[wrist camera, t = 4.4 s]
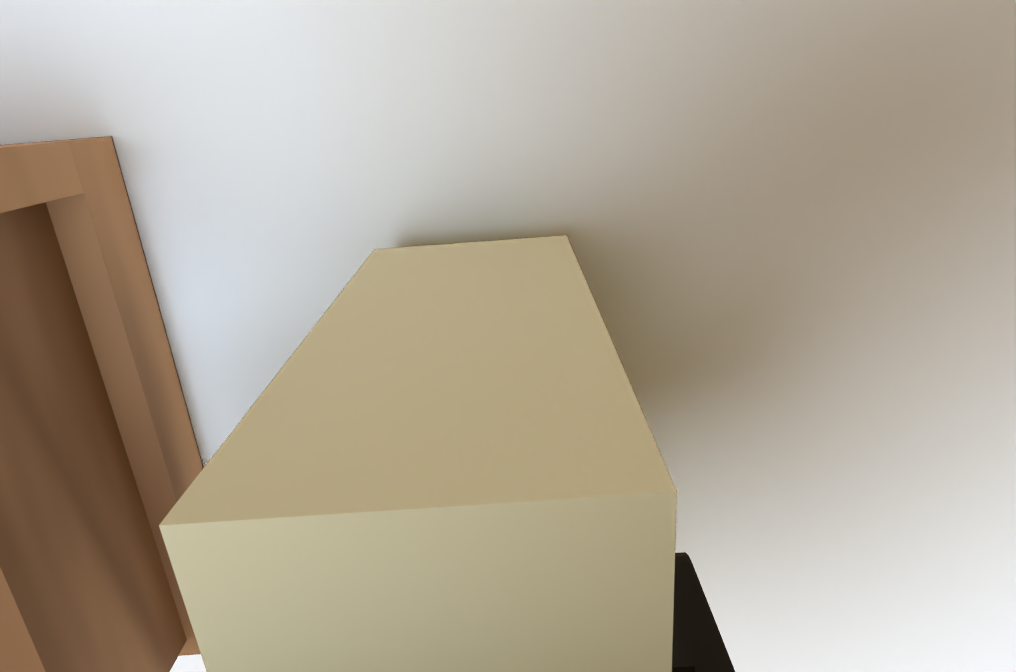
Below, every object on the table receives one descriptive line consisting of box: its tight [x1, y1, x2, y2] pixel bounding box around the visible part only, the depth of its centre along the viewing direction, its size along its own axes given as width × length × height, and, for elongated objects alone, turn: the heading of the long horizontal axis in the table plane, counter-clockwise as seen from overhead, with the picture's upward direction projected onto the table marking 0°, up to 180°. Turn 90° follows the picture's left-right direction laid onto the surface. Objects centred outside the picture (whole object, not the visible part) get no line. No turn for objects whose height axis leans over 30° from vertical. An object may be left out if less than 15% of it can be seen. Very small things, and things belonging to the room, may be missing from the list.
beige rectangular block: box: [159, 235, 677, 672], centre depth 11 cm, size 4×10×9 cm, turn 4°
